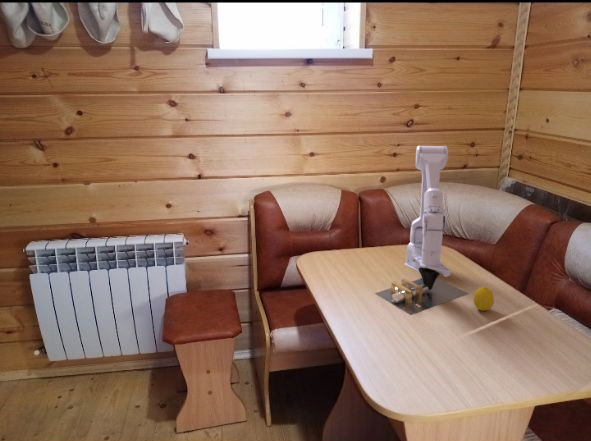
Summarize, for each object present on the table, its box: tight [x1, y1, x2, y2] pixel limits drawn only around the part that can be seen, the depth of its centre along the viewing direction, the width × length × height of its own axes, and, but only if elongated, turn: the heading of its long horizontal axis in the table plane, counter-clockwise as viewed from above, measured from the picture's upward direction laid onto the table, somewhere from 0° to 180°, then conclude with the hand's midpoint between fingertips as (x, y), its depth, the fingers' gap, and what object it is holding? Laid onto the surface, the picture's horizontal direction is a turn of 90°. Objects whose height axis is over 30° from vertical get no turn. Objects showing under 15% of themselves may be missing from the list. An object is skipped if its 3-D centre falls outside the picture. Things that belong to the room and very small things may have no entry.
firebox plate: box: [374, 277, 470, 316], centre depth 150 cm, size 16×25×5 cm, turn 121°
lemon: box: [473, 286, 495, 312], centre depth 139 cm, size 6×6×8 cm
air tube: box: [391, 284, 428, 303], centre depth 147 cm, size 13×3×3 cm, turn 121°
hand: (428, 289), depth 151 cm, fingers closed, pressing on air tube
